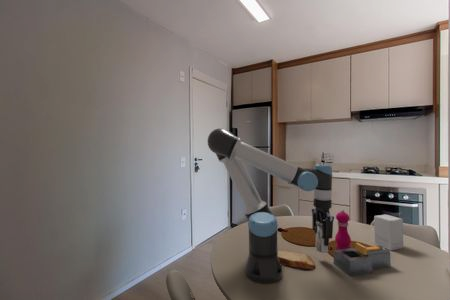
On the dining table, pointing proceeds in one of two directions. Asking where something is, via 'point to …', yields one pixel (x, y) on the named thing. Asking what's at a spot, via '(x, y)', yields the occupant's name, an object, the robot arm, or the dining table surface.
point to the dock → (361, 260)
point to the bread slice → (295, 260)
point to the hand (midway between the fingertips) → (321, 249)
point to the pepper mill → (342, 231)
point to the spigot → (319, 235)
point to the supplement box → (388, 232)
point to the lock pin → (365, 248)
